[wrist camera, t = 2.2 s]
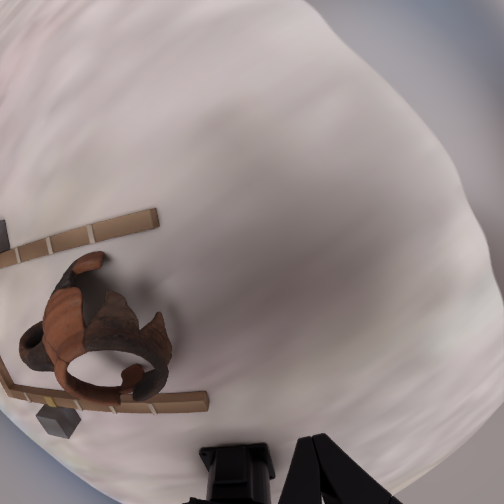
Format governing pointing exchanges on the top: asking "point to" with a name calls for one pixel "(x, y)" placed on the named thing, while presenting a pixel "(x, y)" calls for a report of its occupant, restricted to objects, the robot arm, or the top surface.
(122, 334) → the brown broken pot
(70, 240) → the wooden u-shaped frame
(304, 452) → the robot arm
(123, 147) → the top surface
